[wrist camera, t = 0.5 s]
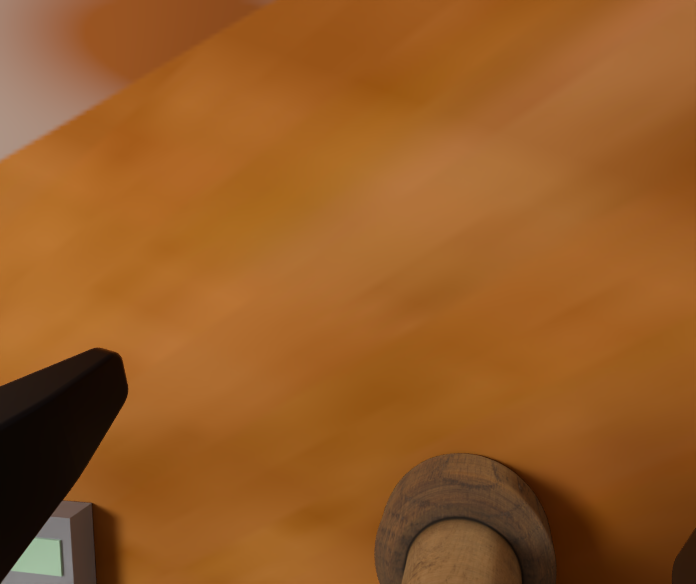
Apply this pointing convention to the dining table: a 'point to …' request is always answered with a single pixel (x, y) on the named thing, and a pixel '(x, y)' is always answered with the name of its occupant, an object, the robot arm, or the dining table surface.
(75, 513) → the breaker panel
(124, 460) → the dining table surface
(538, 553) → the brown statuette
